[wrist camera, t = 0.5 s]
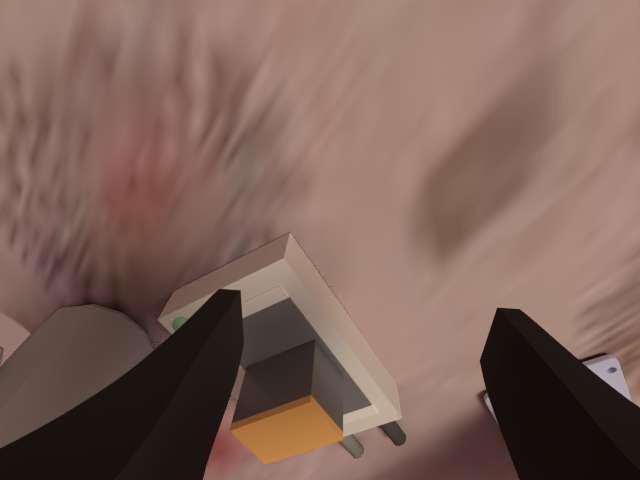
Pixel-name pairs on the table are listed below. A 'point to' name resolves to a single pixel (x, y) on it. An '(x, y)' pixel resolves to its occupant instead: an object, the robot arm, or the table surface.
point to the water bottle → (66, 365)
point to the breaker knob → (290, 404)
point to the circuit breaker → (294, 325)
